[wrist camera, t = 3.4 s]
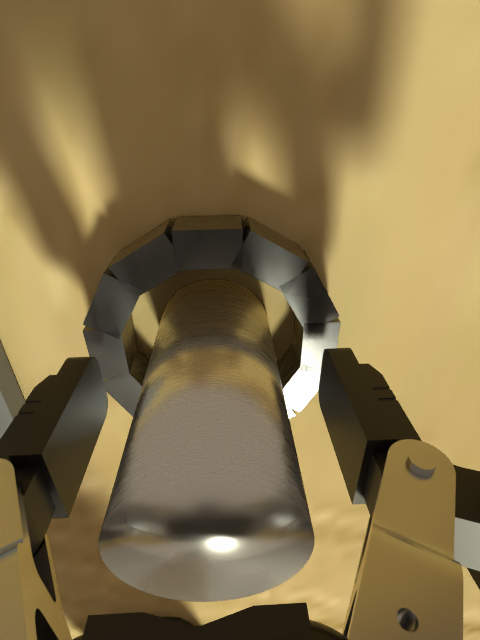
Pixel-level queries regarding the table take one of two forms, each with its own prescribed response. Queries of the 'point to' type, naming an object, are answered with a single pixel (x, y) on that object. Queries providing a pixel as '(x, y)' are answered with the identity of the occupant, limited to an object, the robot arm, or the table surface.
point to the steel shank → (209, 459)
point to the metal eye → (209, 253)
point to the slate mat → (8, 394)
